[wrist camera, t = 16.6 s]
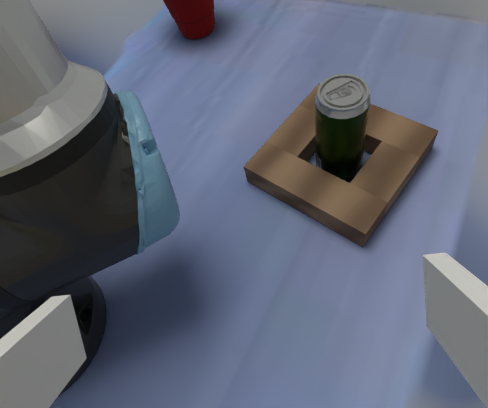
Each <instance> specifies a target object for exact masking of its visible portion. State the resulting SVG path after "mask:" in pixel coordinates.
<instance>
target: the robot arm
mask: <svg viewBox="0 0 488 408" xmlns="http://www.w3.org/2000/svg"><path fill="white" fill-rule="evenodd" d="M179 217H180V214H179V207H178V204H177V200H176V197H175V194H174V191H173V188H172V185H171V182H170V179H169V176H168V173H167V170H166V168H165V165H164V162H163V160H162V157H161V154H160V152H159V150H158V149H157V144H156V141H155V139H154V136H153V133H152V130H151V127H150V125H149V122H148V120H147V117H146V115H145V112H144V110H143V107H142V105H141V103H140V101H139V99H138V97H137V95H136V94H135V92H133V91H131V90H126V91H121V90H119V91H116V92H115V94H114V95H113V93H112V91H111V90H110V88H109V86H108V84H107V83H106V81H105V79H104V77H103V76H102V75H101V74H100V73H99V72H98V71H96V70H94V69H91V68H88V67H85V66H82V65H79V64H76V63H73V62H70V61H68V60H67V59H66V58H65V57H64V56H63V54H62V52H61V51H60V49H59V47H58V46H57V44H56V42H55V41H54V39H53V37H52V36H51V34H50V33H49V31H48V29H47V28H46V26H45V24H44V23H43V21H42V20H41V18H40V16H39V15H38V13H37V12H36V10H35V8H34V6H33V5H32V3H31V1H30V0H0V408H49V407H50V406H51V405H52V403H53V402H54V401H55V399H56V398H57V397H58V395H59V394H60V393H62V392H63V391H64V390H66V389H67V388H68V387H69V386H71V385H72V384H73V383H74V382H75V381H76V380H77V379H78V378H79V377H80V376H81V374H82V373H83V372H84V371H85V369H86V368H87V367H88V365H89V364H90V362H91V361H92V359H93V357H94V356H95V354H96V352H97V350H98V347H99V345H100V342H101V339H102V336H103V332H104V328H105V321H106V307H105V301H104V297H103V294H102V292H101V289H100V288H99V286H98V284H97V283H96V282H95V280H94V279H93V278H92V277H91V276H90V275H92V274H94V273H96V272H99V271H101V270H103V269H105V268H107V267H109V266H111V265H113V264H116V263H118V262H120V261H122V260H124V259H126V258H128V257H130V256H133V255H135V254H140V253H141V252H143V250H144V248H146V247H148V246H150V245H151V244H153V243H155V242H157V241H158V240H160V239H162V238H164V237H166V236H167V235H169V234H170V233H171V232H172V231H173V230H174V229H175V227H176V226H177V224H178V221H179ZM423 268H424V286H425V304H426V322H427V327H428V328H429V330H430V331H431V332H432V334H433V335H434V337H435V338H436V339H437V341H438V342H439V343H440V345H441V346H442V347H443V349H444V350H445V351H446V353H447V354H448V356H449V357H450V358H451V360H452V361H453V362H454V364H455V365H456V366H457V368H458V369H459V371H460V372H461V373H462V375H463V376H464V377H465V379H466V380H467V382H468V383H469V384H470V386H471V387H472V388H473V390H474V391H475V393H476V394H477V395H478V397H479V398H480V399H481V401H482V402H483V403H484V405H485V406H486V408H488V286H486V285H485V284H484V283H483V282H482V281H480V280H479V279H478V278H477V277H475V276H474V275H473V274H471V273H470V272H469V271H468V270H467V269H465V268H464V267H463V266H462V265H460V264H459V263H458V262H457V261H455V260H454V259H453V258H452V257H450V256H449V255H448V254H447V253H437V254H428V255H423Z"/></svg>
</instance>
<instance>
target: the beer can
mask: <svg viewBox="0 0 488 408" xmlns="http://www.w3.org/2000/svg"><path fill="white" fill-rule="evenodd" d="M370 102H371V101H370V94H369V87H368V85H367V83H366V82H365V81H364V80H363V79H362V78H360V77H358V76H355V75H351V74H338V75H334V76H331V77H329V78H327V79H325V80H324V81H323V82H322V83H321V84H320V86H319V88H318V93H317V95H316V96H315V133H316V166H317V167H318V168H320V169H322V170H324V171H326V172H328V173H330V174H332V175H334V176H336V177H338V178H340V179H342V180H348V179H350V178H351V177H353V176H354V175H355V174H356V173H357V172H358V171H359V169H360V167H361V163H362V156H363V149H364V143H365V136H366V129H367V122H368V115H369V109H370Z"/></svg>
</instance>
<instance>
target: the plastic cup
mask: <svg viewBox="0 0 488 408" xmlns="http://www.w3.org/2000/svg"><path fill="white" fill-rule="evenodd" d="M163 1H164V3H165V5H166V6H167V8H168V10H169V12H170V14H171V15H172V17H173V18H174V20H175V22H176V24H177V25H178V27H179V29H180V31H181V32H182V34H183V35H184V36H185V37H186V38H189V39H199V38H203V37H205V36H207V35H209V34H210V33H211V32H212V31H213V29H214V24H215V21H214V1H213V0H163Z"/></svg>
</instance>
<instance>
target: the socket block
mask: <svg viewBox="0 0 488 408" xmlns="http://www.w3.org/2000/svg"><path fill="white" fill-rule="evenodd" d="M319 86H320V84H318V85H317V86H316V87H315V88H314V89H313V91H312V92H311V93H310V94H309V95H308V96H307V97H306V98H305V99H304V101H303V102H302V103H301V104H300V105H299V106H298V107H297V108H296V109H295V110H294V112H293V113H292V114H291V115H290V116H289V117H288V118H287V119H286V120H285V122H284V123H283V124H282V125H281V126H280V127H279V128H278V129H277V130H276V131H275V133H274V134H273V135H272V136H271V137H270V138H269V139H268V140H267V141H266V143H265V144H264V145H263V146H262V147H261V148H260V149H259V150H258V151H257V152H256V154H255V155H254V156H253V157H252V158H251V159H250V160H249V161H248V162H247V164H246V165H245V166H244V170H245V173H246V177H247V181H248V182H250V183H252V184H254V185H255V186H257V187H259V188H261V189H262V190H264V191H266V192H268V193H269V194H271V195H273V196H275V197H276V198H278V199H280V200H281V201H283V202H285V203H287V204H288V205H290V206H292V207H294V208H295V209H297V210H299V211H301V212H302V213H304V214H306V215H308V216H309V217H311V218H313V219H315V220H316V221H318V222H320V223H322V224H323V225H325V226H327V227H329V228H330V229H332V230H334V231H336V232H337V233H339V234H341V235H343V236H344V237H346V238H348V239H350V240H351V241H353V242H355V243H357V244H358V245H360V246H362V247H363V246H364V245H365V243H366V242H367V240H368V239H369V237H370V236H371V235H372V233H373V232H374V230H375V229H376V227H377V226H378V225H379V223H380V222H381V220H382V219H383V217H384V216H385V214H386V213H387V212H388V210H389V209H390V207H391V206H392V204H393V203H394V201H395V200H396V199H397V197H398V196H399V194H400V193H401V191H402V190H403V189H404V187H405V186H406V184H407V183H408V181H409V180H410V178H411V177H412V176H413V174H414V173H415V171H416V170H417V168H418V167H419V165H420V164H421V163H422V161H423V160H424V158H425V157H426V155H427V154H428V153H429V151H430V150H431V148H432V146H433V144H434V141H435V138H436V136H437V133H438V130H436V129H433V128H430V127H428V126H425V125H423V124H420V123H418V122H415V121H413V120H410V119H408V118H405V117H403V116H400V115H398V114H395V113H392V112H390V111H387V110H385V109H382V108H380V107H377V106H375V105H372V104H370V109H369V115H368V122H367V129H366V136H365V143H364V149H363V150H364V151H366V152H369V153H371V154H372V155H371V156H370V158H369V159H368V160H367V162H366V163H365V164H364V165H363V167H362V168H361V169H360V171H359V172H358V173H357V175H356V176H355V177H354V179H353V180H352V181H351V183H348V182H346V181H344V180H342V179H340V178H338V177H336V176H334V175H332V174H330V173H328V172H326V171H324V170H322V169H320V168H318V167H316V166H314V165H312V164H310V163H308V162H307V161H308V159H309V158H310V157H311V156H312V155H313V153H314V152H315V151H316V133H315V96H316V95H317V93H318V88H319Z"/></svg>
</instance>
